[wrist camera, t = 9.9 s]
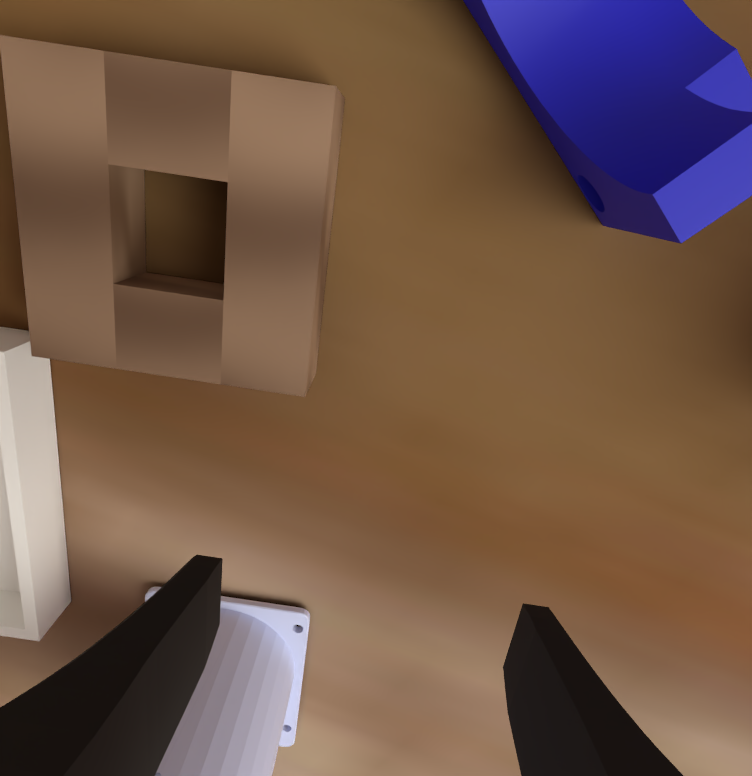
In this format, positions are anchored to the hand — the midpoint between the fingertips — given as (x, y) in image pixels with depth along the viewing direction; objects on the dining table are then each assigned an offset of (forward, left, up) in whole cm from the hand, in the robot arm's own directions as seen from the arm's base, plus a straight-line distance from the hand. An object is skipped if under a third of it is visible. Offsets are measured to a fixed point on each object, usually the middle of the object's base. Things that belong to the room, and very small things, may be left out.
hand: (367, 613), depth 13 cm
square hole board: (+7, +8, -10) cm, 15 cm away
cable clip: (+15, -4, -11) cm, 19 cm away
